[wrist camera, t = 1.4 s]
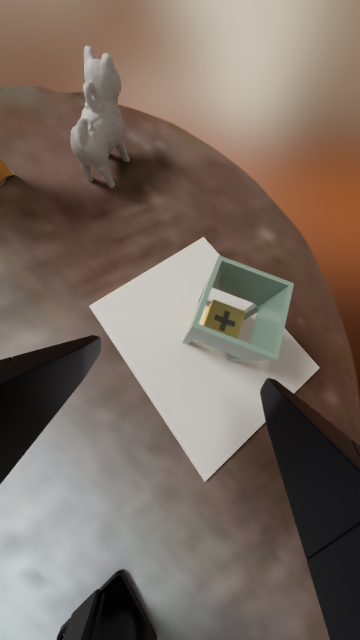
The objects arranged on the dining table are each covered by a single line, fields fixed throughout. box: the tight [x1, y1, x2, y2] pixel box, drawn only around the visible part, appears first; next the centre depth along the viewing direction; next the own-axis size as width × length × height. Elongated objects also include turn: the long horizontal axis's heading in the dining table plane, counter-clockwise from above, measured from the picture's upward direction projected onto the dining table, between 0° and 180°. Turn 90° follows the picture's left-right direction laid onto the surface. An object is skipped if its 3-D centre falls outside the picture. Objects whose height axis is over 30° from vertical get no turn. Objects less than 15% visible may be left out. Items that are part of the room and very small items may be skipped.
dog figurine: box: [71, 46, 130, 188], centre depth 25 cm, size 5×13×11 cm, turn 165°
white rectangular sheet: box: [89, 237, 319, 481], centre depth 23 cm, size 25×20×1 cm
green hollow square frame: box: [182, 256, 294, 363], centre depth 19 cm, size 7×7×10 cm
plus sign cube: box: [201, 300, 246, 339], centre depth 21 cm, size 4×4×4 cm
